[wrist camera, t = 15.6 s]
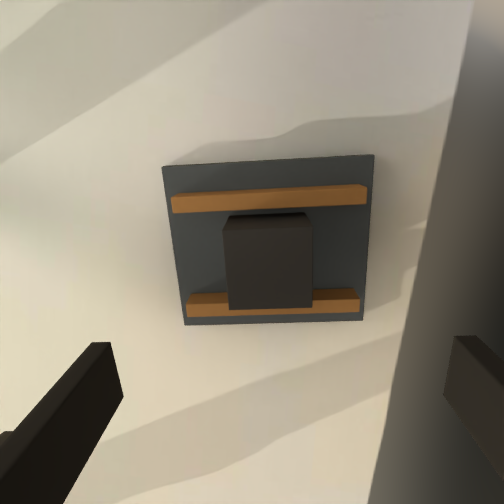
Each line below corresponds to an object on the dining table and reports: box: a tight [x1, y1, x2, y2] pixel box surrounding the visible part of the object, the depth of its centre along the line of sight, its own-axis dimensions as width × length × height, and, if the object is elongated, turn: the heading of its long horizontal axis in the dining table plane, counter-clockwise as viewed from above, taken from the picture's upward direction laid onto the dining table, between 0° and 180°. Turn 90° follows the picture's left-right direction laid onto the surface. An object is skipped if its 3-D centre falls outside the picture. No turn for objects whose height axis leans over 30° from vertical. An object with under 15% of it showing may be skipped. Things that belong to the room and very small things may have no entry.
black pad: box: [222, 212, 313, 310], centre depth 23 cm, size 6×6×4 cm
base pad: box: [162, 154, 374, 325], centre depth 25 cm, size 16×14×3 cm
